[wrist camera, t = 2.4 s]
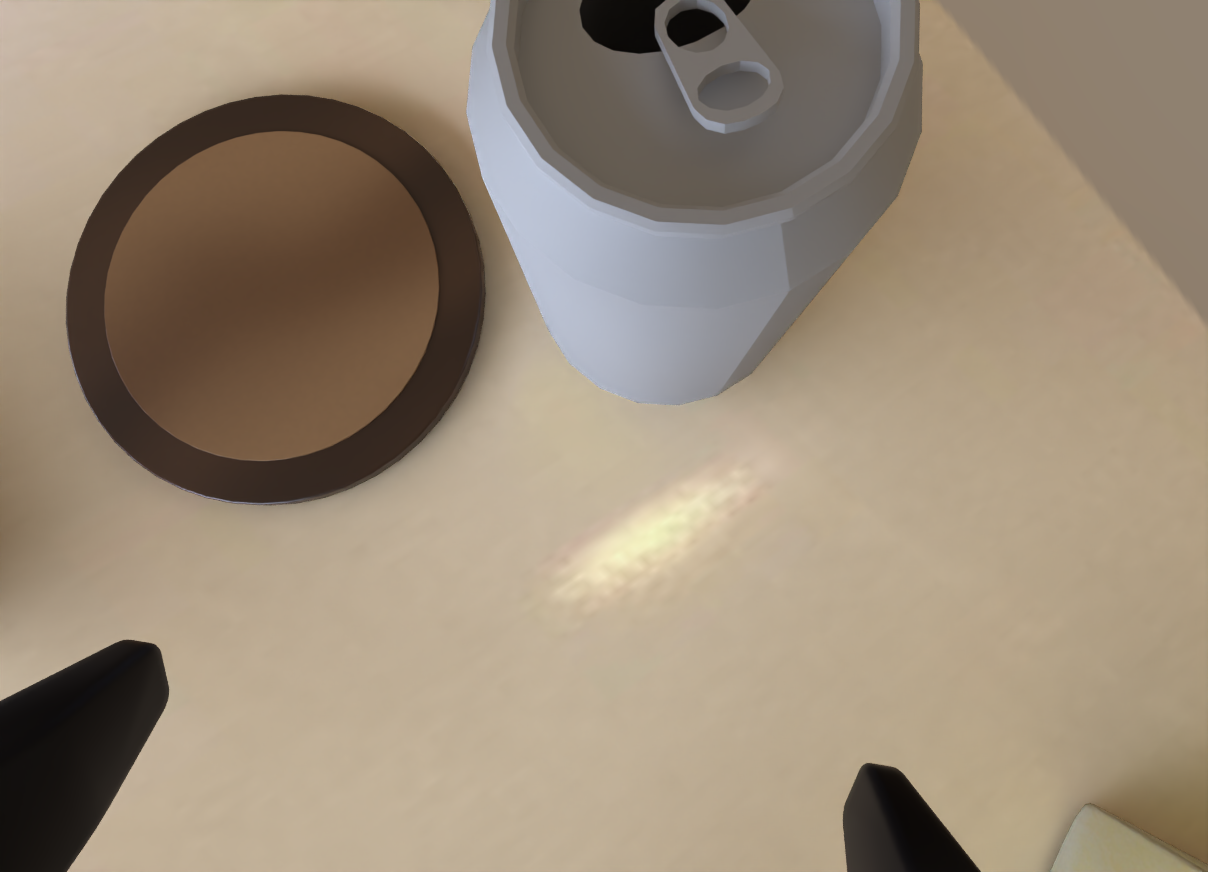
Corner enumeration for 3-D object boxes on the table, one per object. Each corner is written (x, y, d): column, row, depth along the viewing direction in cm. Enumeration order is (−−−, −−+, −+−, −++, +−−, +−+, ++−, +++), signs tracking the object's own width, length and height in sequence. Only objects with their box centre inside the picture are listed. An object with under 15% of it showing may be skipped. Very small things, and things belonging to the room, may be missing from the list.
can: (724, 139, 22) (831, -299, 10) (827, 351, 21) (1073, 139, 9) (506, 231, 22) (361, -102, 10) (600, 449, 21) (560, 359, 9)
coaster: (572, 292, 22) (570, 285, 21) (266, 596, 21) (254, 598, 20) (294, 28, 23) (284, 13, 23) (-2, 303, 23) (-22, 297, 22)
